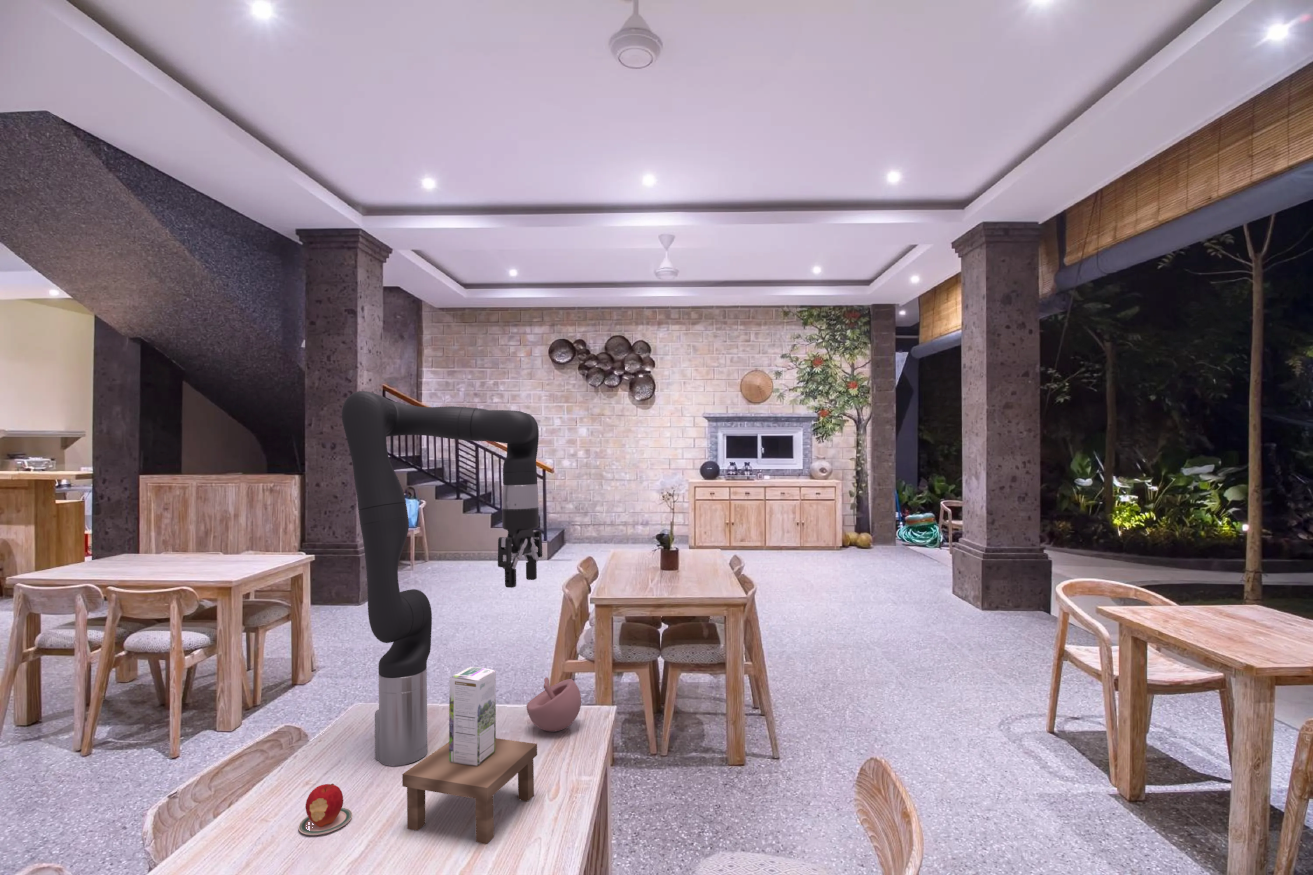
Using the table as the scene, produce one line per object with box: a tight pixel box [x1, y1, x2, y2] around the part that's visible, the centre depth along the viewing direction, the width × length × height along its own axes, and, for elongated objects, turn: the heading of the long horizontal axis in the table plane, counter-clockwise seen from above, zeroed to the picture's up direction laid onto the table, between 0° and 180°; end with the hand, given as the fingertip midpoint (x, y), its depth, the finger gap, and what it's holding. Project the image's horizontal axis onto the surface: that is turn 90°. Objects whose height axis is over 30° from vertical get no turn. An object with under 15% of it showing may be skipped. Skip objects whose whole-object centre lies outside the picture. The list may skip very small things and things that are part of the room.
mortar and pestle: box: [526, 677, 582, 733], centre depth 143 cm, size 12×12×12 cm
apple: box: [298, 783, 353, 836], centre depth 108 cm, size 8×8×6 cm
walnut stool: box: [401, 737, 538, 845], centre depth 110 cm, size 16×16×9 cm
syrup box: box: [448, 666, 497, 766], centre depth 111 cm, size 6×6×14 cm
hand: (521, 583), depth 135 cm, fingers open, 8 cm apart
